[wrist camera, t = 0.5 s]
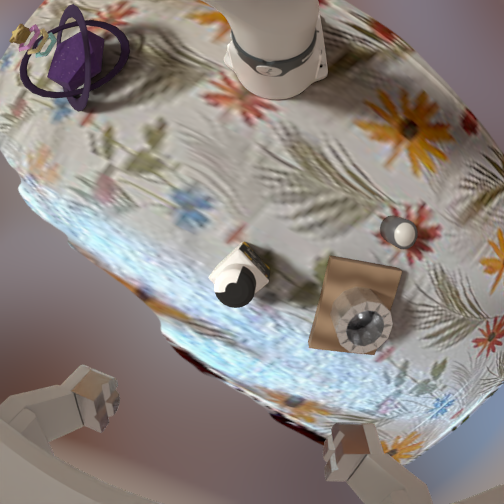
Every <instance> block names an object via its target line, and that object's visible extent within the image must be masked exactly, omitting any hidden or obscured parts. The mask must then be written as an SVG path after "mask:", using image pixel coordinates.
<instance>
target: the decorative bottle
mask: <svg viewBox="0 0 504 504" xmlns="http://www.w3.org/2000/svg"><path fill="white" fill-rule="evenodd" d="M71 17H73V18H74V19H76V21H75V22H71V23H67V24H65V22H66V21H67V20H68V19H69V18H71ZM86 25H89V26H97V27H101V28H104V29H106V30H109V31H110V32H111V33H113V34H114V35H115V36H116V37H117V38H118V40H119V42H120V44H121V55H120V58H119V61H118V63H117V64H116V65H115V67H114V69H113V70H111V71H110V72H109V73H108V74H107V75H106V76H105V77H103V78H102V79H100V80H99V81H97V82H95V83H93V84H91V78H92V77H94V76H95V75H97V74H98V73H100V72H101V66H102V56H103V47H104V40H105V39H103V38H101V37H100V36H98V35H96V34H94V33H92V32H90V31H88V30H87V27H86ZM75 26H79V28H80V31H81V32H79V33H77V34H76V35H74V36H72V37H70V38H69V39H67V40H65V41H63V42H62V43H61V37H62V31H63V29H67V28H71V27H75ZM33 30H34V32H35V34H34V36H33V37H32V38H31V39H30V42H29V44H28V45H27V46H24V43H25V42H26V40H27V38H28V37H29V35H30V33H31V32H32V31H33ZM57 32H58V35H57V39H56V38H55V36H54V35H53V34H55V33H57ZM12 33H13V35H12V38H11V39H10V42H11V43H13V42H15V43H17V44H20V46H19V52H20V51H23V50H27V49H28V50H27V52H26V53H25V55H24V57H23V59H22V62H21V66H20V78H21V80H22V82H23V84H24V86H25V87H26V88H27V89H28V90H30V91H31V92H32V93H34V94H37V95H40V96H42V97H50V98H63V97H67V99H68V101H69V103H70V104H71V106H72V107H73V108H74V109H75V110H77V111H78V112H79V111H83V109H84V108H85V107H86V105H87V101H88V98H89V92H90V91H91V90H94V89H96V88H98V87H100V86H102V85H103V84H105V83H106V82H108V81H110V80H111V79H112V78H113V77H114V76H115V75H117V74H118V73H119V72H120V71H121V69H122V68H123V66H124V65H125V63H126V62H127V60H128V56H129V53H130V48H129V41H128V39H127V38H126V36H125V34H124V33H123V32H122V31H121V30H119V29H118V28H117V27H116V26H113V25H111V24H108V23H106V22H101V21H94V20H84V18H83V15H82V13H81V11H80V10H79V8H78V7H77V6H75V5H74V4H73V5H69V6H68V7H67V8H66V9H65V11H64V13H63V15H62V17H61V20H60V24H59V27H56V28H54V29H52V30H50V31H48V32H46V31H45V29H44V28H43V29H41V30H39V29H38V27H37V25H36V24H35V25H33V26H32V27H31V28H30V29H29V28H27V27H24V25H23V24H19V26H18V27H17V29H16V30H15V31H13V32H12ZM41 34H42V35H43V36H41V37H40V38H38V37H39V36H40V35H41ZM37 38H38V39H37ZM49 38H50V39H51V41H52V42H51V43H50V45H49V46H48V48H47V50H46V51H45V52H42V53H40V51H41V49H42V47H43V45H44V44H45V42H46V41H47V40H48V39H49ZM36 39H37V40H36ZM56 41H57V48H56V51H55V54H54V57H53V60H52V63H51V66H50V69H49V73H48V76H47V77H48V78H50V79H51V80H53V81H54V82H56V83H58V84H59V85H61V86H62V87H63V90H64V92H51V91H46V90H43V89H40V88H38V87H37V86H35V85H34V84H33V83H31V81H30V79H29V77H28V75H27V64H28V60H29V58H30V56H31V54H33V53H36V58H37V57H43V56H47V55H48V54H49V52H50V51H51V49H52V48H53V46H54V44H55V43H56ZM36 47H37V49H36ZM45 70H46V69H45ZM83 84H84V88H81V89H77V88H78V87H80V86H81V85H83ZM75 89H77V90H75ZM80 94H82V95H81V96H80V98H78V99H76V98H74V97H73V96H76V95H80Z"/></svg>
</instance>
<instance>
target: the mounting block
mask: <svg viewBox="0 0 504 504" xmlns="http://www.w3.org/2000/svg"><path fill="white" fill-rule="evenodd" d="M401 274H402V271H401V270H400V269H398V268H397V267H391V266H386V265H380V264H375V263H369V262H364V261H358V260H353V259H347V258H342V257H336V256H330V255H329V260H328V264H327V269H326V273H325V278H324V282H323V286H322V290H321V294H320V298H319V302H318V306H317V310H316V314H315V318H314V322H313V325H312V329H311V333H310V336H309V340H308V344H309V348H314V349H322V350H330V351H339V352H348V353H352V352H349V351H348V350H347V349H345V348H344V347H343V346H341V345H340V343H339V340H338V337H337V334H336V331H335V328H334V325H333V322H332V318H331V315H330V313H331V310H332V306H333V302H334V301H335V300H336V299H337V298H338V297H339V295H340V294H341V293H342V292H343V291H346V290H348V289H351V288H354V287H356V286H357V287H363V288H369V289H370V290H371V291H373V292H374V293H375V294H376V295H377V296H378V297H379V298H380V300H381V301H382V302H383V303H384V305H385V306H386V307H387V308H388V310H389V311H390V310H391V307H392V304H393V301H394V298H395V294H396V291H397V288H398V284H399V281H400V277H401ZM375 352H376V349H375V350H372V351H370V352H367V353H364V354H370V355H375ZM358 354H362V353H358Z"/></svg>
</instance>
